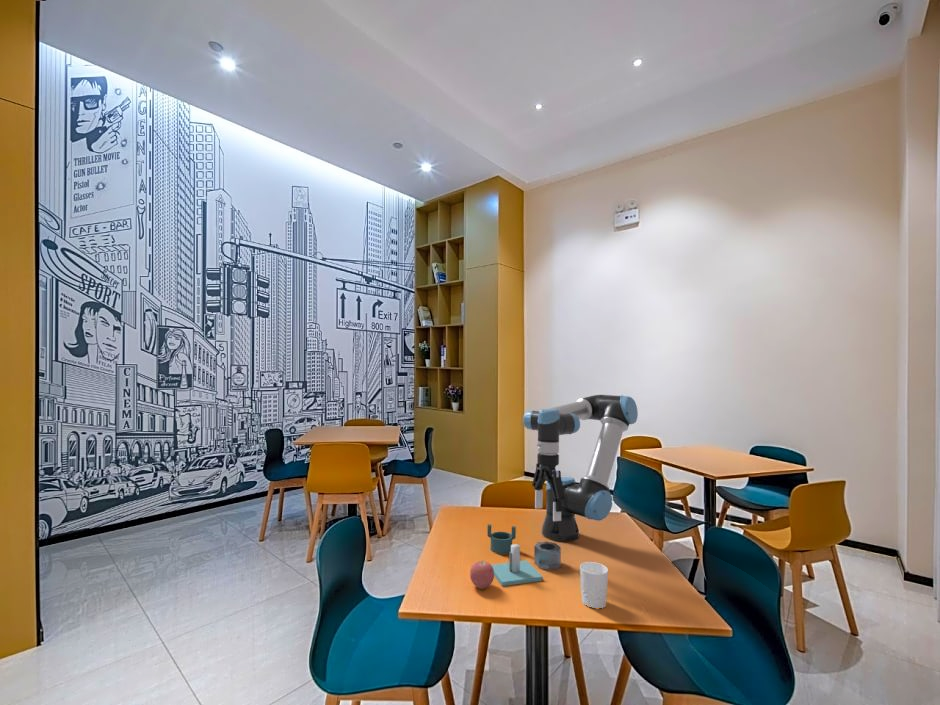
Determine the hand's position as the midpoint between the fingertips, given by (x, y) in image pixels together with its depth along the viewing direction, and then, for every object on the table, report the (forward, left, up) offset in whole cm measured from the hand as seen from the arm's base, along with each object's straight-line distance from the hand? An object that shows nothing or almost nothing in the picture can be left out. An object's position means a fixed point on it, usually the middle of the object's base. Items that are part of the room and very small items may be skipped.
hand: (547, 514), depth 145 cm
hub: (0, 0, -17) cm, 17 cm away
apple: (+27, +9, -17) cm, 33 cm away
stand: (+14, +4, -17) cm, 22 cm away
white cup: (-2, +26, -17) cm, 31 cm away
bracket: (+11, -16, -17) cm, 26 cm away
